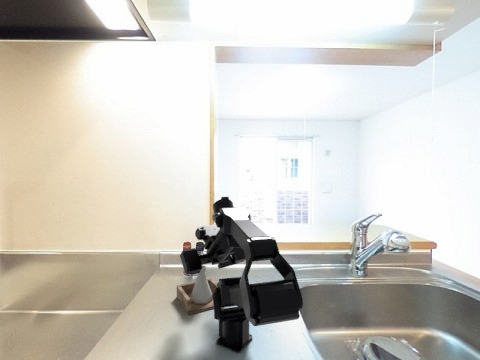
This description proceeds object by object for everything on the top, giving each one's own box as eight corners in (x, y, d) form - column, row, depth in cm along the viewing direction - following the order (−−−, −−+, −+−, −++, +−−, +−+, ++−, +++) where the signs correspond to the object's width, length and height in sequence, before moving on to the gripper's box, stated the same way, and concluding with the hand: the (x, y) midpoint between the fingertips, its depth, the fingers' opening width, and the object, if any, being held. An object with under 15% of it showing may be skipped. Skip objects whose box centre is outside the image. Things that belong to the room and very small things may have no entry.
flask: (185, 302, 78) (185, 270, 78) (195, 292, 85) (195, 261, 85) (207, 306, 76) (207, 272, 76) (216, 295, 83) (216, 264, 83)
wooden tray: (227, 304, 78) (227, 292, 78) (188, 314, 73) (188, 302, 72) (211, 288, 89) (211, 278, 89) (176, 296, 83) (176, 285, 83)
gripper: (241, 214, 78) (222, 242, 87) (182, 220, 67) (168, 252, 77) (257, 246, 72) (235, 273, 81) (195, 258, 61) (178, 288, 71)
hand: (205, 270), depth 78 cm, fingers open, 9 cm apart
